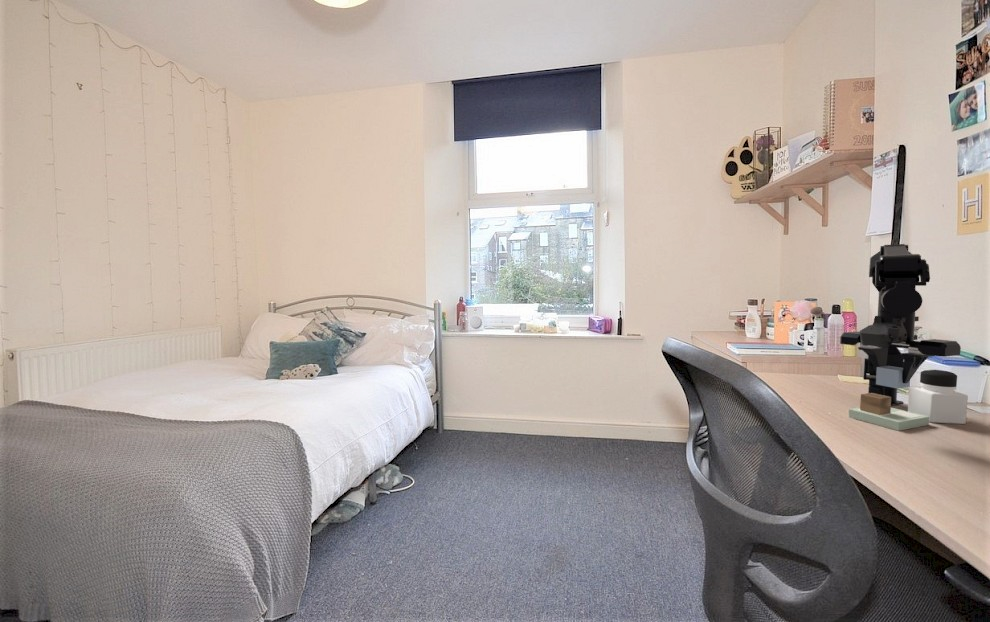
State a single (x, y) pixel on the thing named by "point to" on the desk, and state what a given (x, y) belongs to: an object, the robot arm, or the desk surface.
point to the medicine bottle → (938, 398)
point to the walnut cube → (875, 403)
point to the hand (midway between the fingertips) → (892, 380)
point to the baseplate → (891, 418)
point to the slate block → (890, 377)
